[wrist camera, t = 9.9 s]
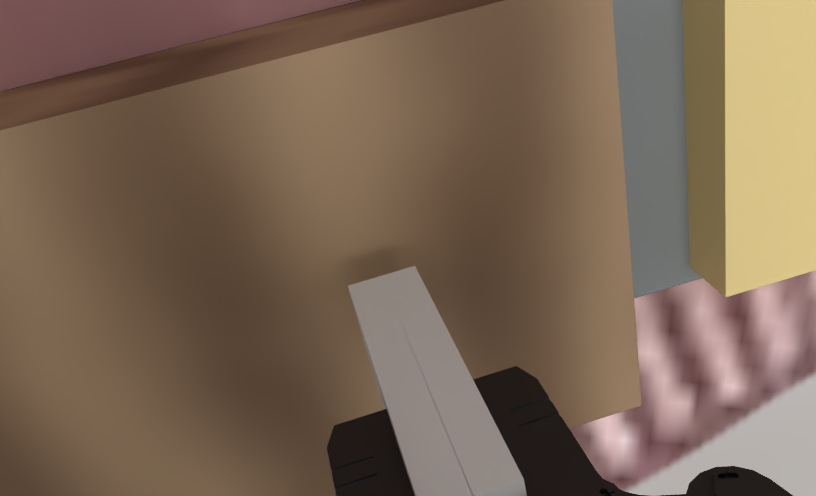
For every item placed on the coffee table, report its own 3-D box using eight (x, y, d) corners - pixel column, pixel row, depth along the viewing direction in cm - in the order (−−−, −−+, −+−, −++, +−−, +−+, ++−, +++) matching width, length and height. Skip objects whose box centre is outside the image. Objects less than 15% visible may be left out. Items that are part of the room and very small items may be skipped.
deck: (-26, 516, 23) (-70, 630, 20) (-267, 159, 18) (-387, 230, 14) (583, 331, 25) (641, 405, 22) (541, -46, 20) (610, -27, 16)
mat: (581, 306, 25) (586, 312, 25) (537, -87, 19) (542, -86, 19) (964, 191, 26) (974, 195, 26) (1028, -208, 20) (1042, -210, 20)
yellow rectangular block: (725, 297, 23) (689, 266, 25) (905, 242, 23) (858, 216, 25) (725, -10, 19) (681, -20, 20) (944, -67, 19) (884, -73, 21)
